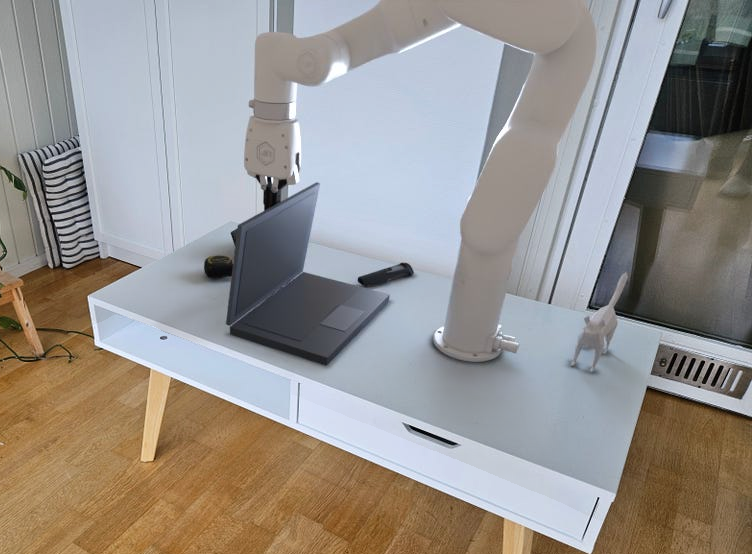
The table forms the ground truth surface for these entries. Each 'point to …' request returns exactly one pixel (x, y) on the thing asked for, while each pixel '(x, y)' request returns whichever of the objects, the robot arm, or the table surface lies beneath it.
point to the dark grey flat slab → (311, 317)
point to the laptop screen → (270, 251)
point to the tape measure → (218, 266)
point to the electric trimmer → (386, 274)
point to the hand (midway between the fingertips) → (271, 209)
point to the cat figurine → (600, 327)
